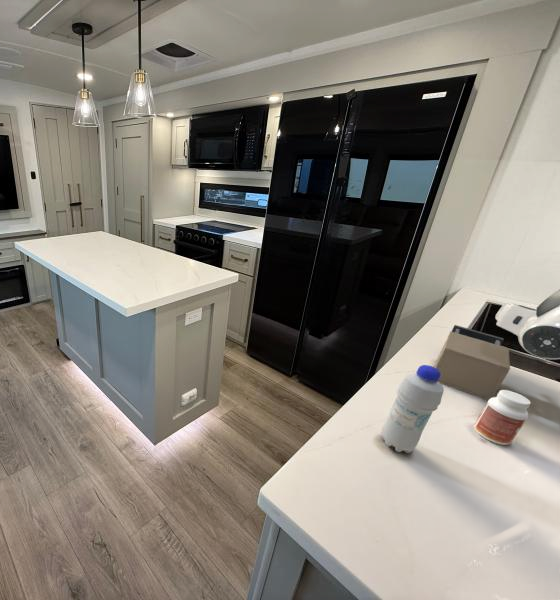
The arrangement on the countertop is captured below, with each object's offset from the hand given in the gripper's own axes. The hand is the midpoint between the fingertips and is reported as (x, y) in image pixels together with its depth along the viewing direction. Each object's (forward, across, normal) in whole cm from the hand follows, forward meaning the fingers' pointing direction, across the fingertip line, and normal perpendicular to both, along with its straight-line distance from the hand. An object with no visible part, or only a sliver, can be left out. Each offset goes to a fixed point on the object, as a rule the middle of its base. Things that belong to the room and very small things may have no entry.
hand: (554, 324), depth 81 cm
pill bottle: (-30, -3, +24) cm, 38 cm away
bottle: (-52, +8, +28) cm, 60 cm away
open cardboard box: (-8, +8, +22) cm, 25 cm away
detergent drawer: (+4, +10, +20) cm, 23 cm away
